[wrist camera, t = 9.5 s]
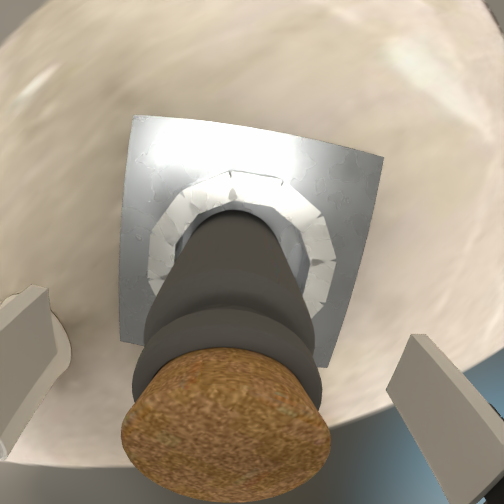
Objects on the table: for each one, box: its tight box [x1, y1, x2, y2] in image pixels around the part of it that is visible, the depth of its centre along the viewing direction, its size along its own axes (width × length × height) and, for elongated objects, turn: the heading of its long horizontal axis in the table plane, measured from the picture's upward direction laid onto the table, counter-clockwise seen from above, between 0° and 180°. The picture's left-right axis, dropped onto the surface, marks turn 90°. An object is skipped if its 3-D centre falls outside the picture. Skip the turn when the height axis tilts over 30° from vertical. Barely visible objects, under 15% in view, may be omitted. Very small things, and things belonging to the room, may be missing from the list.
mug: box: [0, 294, 71, 460], centre depth 17 cm, size 12×8×12 cm
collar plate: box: [119, 115, 384, 368], centre depth 19 cm, size 16×16×4 cm
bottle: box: [121, 210, 331, 503], centre depth 13 cm, size 6×6×15 cm
